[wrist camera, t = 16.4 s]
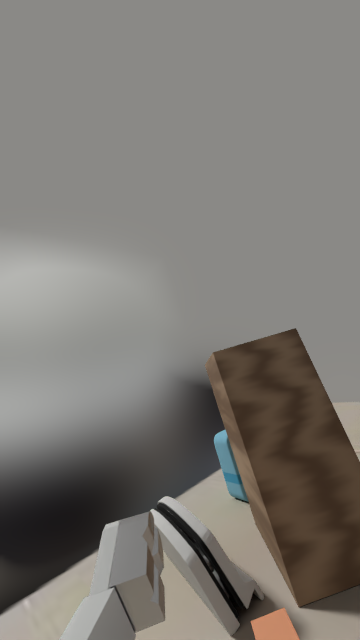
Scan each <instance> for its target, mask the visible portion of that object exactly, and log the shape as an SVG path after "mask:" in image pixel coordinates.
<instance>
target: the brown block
mask: <svg viewBox="0 0 360 640" xmlns="http://www.w3.org/2000/svg"><path fill="white" fill-rule="evenodd" d="M205 367H206V370H207V373H208V376H209V379H210V382H211V386H212V388H213V392H214V395H215V398H216V401H217V404H218V407H219V411H220V414H221V417H222V420H223V423H224V426H225V429H226V432H227V436H228V439H229V442H230V445H231V448H232V451H233V454H234V457H235V461H236V464H237V467H238V470H239V473H240V476H241V479H242V482H243V486H244V489H245V492H246V495H247V498H248V501H249V504H250V508H251V511H252V514H253V517H254V520H255V523H256V526H257V527H258V529H259V531H260V533H261V535H262V537H263V539H264V541H265V543H266V545H267V547H268V549H269V551H270V553H271V554H272V556H273V558H274V560H275V562H276V564H277V566H278V568H279V570H280V572H281V574H282V576H283V578H284V580H285V581H286V583H287V585H288V587H289V589H290V591H291V593H292V595H293V597H294V599H295V601H296V603H297V605H298V607H301V606H303V605H306V604H309V603H311V602H314V601H317V600H319V599H322V598H325V597H327V596H330V595H333V594H335V593H338V592H341V591H343V590H346V589H349V588H351V587H354V586H357V585H359V584H360V462H359V459H358V457H357V455H356V453H355V451H354V449H353V447H352V445H351V443H350V441H349V439H348V436H347V434H346V432H345V430H344V428H343V426H342V424H341V422H340V420H339V418H338V415H337V413H336V411H335V409H334V407H333V405H332V403H331V401H330V399H329V397H328V395H327V392H326V391H325V389H324V386H323V384H322V382H321V380H320V378H319V376H318V374H317V372H316V370H315V367H314V365H313V363H312V361H311V359H310V357H309V355H308V353H307V351H306V349H305V346H304V345H303V342H302V340H301V338H300V336H299V334H298V332H297V330H296V329H292V330H288V331H285V332H281V333H278V334H275V335H271V336H268V337H264V338H261V339H258V340H254V341H251V342H247V343H244V344H241V345H237V346H234V347H230V348H227V349H224V350H220V351H217V352H214V353H212V355H211V356H210V358H209V359H208V361H207V363H206V364H205Z"/></svg>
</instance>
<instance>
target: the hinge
mask: <svg viewBox="0 0 360 640" xmlns="http://www.w3.org/2000/svg"><path fill="white" fill-rule="evenodd" d="M150 511H151V512H152V515H153V517H154V527H156V528H158V530H159V533H160V537H161V541H162V548H163V550H164V552H165V553H166V555H167V557H168V558H169V559H170V560H171V562H172V563H173V564H174V565H175V567H176V568H177V569H178V570H179V572H180V573H181V574H182V576H183V577H184V578H185V579H186V581H187V582H188V583H189V584H190V586H191V587H192V588H193V589H194V591H195V592H196V593H197V594H198V596H199V597H200V598H201V599H202V601H203V602H204V603H205V605H206V606H207V607H208V608H209V610H210V611H211V612H212V613H213V615H214V616H215V617H216V618H217V620H218V621H219V622H220V623H221V625H222V626H223V627H224V629H225V630H226V631H227V632H228V634H229V635H230V636H231V635H233V634H234V633H235V632H236V631H237V629H238V628H239V626H240V624H239V622H238V621H237V618H238V616H239V614H238V613H237V611H236V609H235V608H234V606H233V604H232V603H231V601H230V600H229V596H230V597H231V599H232V600H233V601H234V602H235V603H236V604H237V605H238V606H239V607H240V608H241V609H242V608H243V606H245V607H246V608H247V609H248V606H249V603H250V600H251V597H252V594H253V593H254V594H255V595H256V596H257V597H258V598H260V599H261V600H263V599H264V597H265V596H264V595H263V593H262V591H261V590H260V588H259V586H258V585H257V583H256V582H255V581H254V580H253V579H252V578H251V577H249V576H248V575H247V574H246V573H245V572H243V571H242V570H241V569H240V568H238V567H237V566H236V565H235V564H233V563H232V562H231V561H230V560H229V558H228V557H227V555H226V554H225V552H224V551H223V549H222V548H221V546H220V544H219V543H218V541H217V540H216V538H215V537H214V535H213V534H212V533H211V531H210V530H209V529H208V528H207V527H206V526H205V525H204V524H203V523H202V522H201V521H200V520H199V519H198V518H197V517H196V516H195V515H194V514H193V513H191V512H190V511H189V510H188V509H187V508H185V507H184V506H183V505H182V504H181V503H179V502H178V501H176V500H175V499H173V498H171V497H167V496H166V497H164V498H162V499H161V500H160V501H159V502H158V505H157V509H156V508H155V509H151V510H150Z"/></svg>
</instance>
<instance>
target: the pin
mask: <svg viewBox="0 0 360 640" xmlns="http://www.w3.org/2000/svg"><path fill="white" fill-rule="evenodd" d="M251 625H252V628H253V632H254V635H255V639H256V640H300V639H299V637H298V635H297V633H296V631H295V629H294V627H293V625H292V623H291V621H290V619H289V616H288V614H287V612H286V610H285V608H282V609H279V610H277V611H274V612H272V613H270V614H267V615H265V616H262V617H260V618H257V619H255V620H252V621H251Z"/></svg>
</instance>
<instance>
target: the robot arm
mask: <svg viewBox="0 0 360 640" xmlns="http://www.w3.org/2000/svg"><path fill="white" fill-rule="evenodd" d="M163 568H164V562H163V549H162V541H161V537H160V533H159V530H158V528H156V527H154V517H153V515H152V512H151V511H150V512H146V513H143V514H140V515H136V516H133V517H129V518H126V519H123V520H120V521H116V522H113V523H110V524H107V525H106V526H105V528H104V530H103V533H102V537H101V542H100V547H99V551H98V556H97V561H96V566H95V570H94V575H93V580H92V584H91V589H90V594H89V596H87V597H84V598H83V600H82V602H81V604H80V605H79V607H78V609H77V610H76V612H75V614H74V615H73V617H72V619H71V621H70V622H69V624H68V626H67V627H66V629H65V631H64V632H63V634H62V636H61V638H60V639H59V640H135V637H136V634H135V633H136V632H138V631H141V630H143V629H146V628H148V627H151V626H153V625H156V624H158V623H160V622H163V621H165V596H164V585H163V582H162V580H161V577H160V575H161V572H162V570H163Z"/></svg>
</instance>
